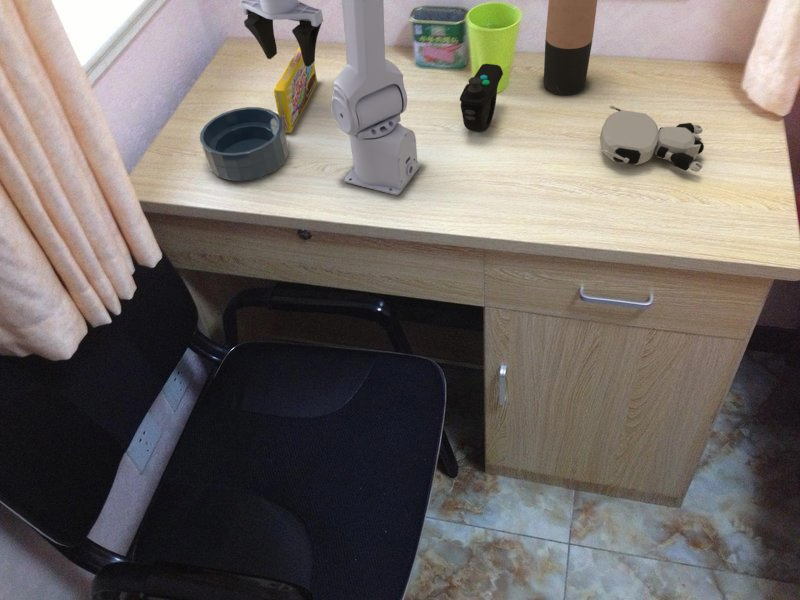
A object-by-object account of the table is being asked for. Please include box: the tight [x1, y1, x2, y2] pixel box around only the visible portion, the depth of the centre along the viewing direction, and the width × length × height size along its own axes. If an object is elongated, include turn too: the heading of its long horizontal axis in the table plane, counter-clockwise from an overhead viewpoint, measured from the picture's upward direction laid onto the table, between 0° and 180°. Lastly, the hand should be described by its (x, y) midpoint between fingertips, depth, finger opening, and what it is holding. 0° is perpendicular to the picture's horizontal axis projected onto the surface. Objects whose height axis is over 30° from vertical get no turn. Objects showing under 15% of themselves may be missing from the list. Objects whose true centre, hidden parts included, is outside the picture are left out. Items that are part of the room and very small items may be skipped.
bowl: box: [199, 106, 290, 182], centre depth 111 cm, size 13×13×6 cm
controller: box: [459, 63, 504, 133], centre depth 111 cm, size 4×12×10 cm, turn 158°
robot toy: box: [599, 104, 705, 173], centre depth 104 cm, size 12×4×15 cm
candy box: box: [273, 46, 318, 134], centre depth 119 cm, size 16×2×8 cm, turn 168°
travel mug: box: [543, 0, 598, 96], centre depth 113 cm, size 8×8×20 cm
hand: (290, 59), depth 115 cm, fingers open, 7 cm apart
